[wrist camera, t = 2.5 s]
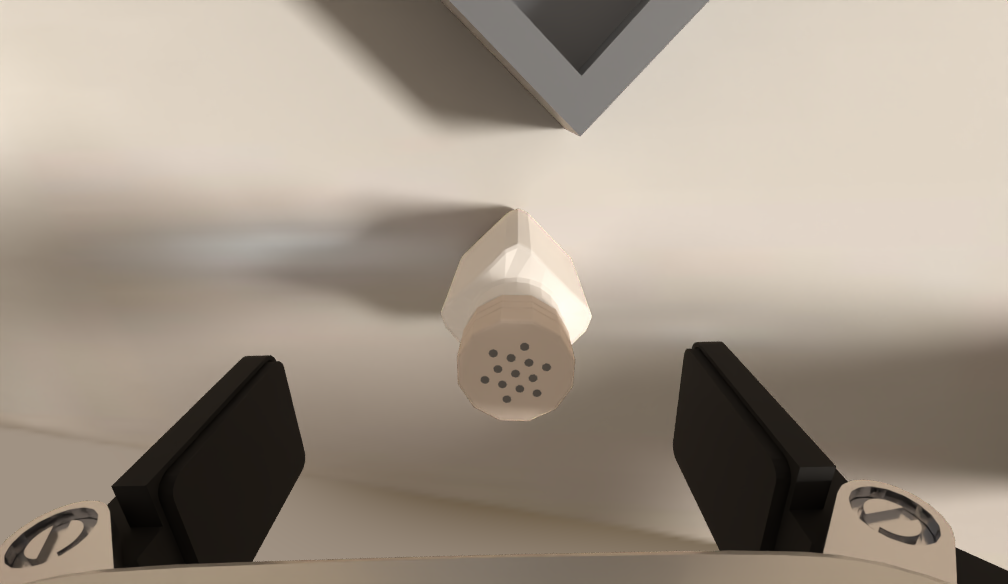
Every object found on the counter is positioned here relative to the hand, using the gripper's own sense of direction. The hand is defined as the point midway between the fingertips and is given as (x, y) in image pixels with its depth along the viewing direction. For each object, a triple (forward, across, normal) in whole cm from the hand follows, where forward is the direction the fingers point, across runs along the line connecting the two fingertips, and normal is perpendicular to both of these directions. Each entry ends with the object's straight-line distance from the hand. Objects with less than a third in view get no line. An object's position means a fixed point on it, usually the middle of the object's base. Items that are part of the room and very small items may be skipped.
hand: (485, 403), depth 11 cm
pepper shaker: (+11, -1, 0) cm, 11 cm away
